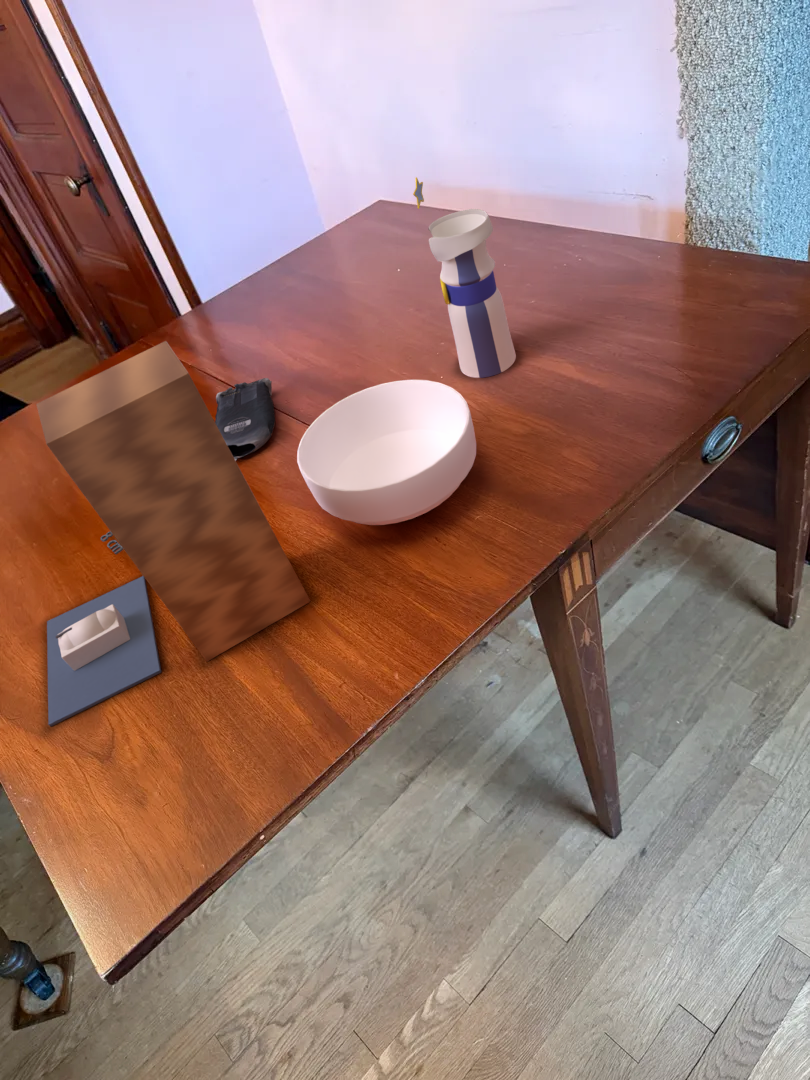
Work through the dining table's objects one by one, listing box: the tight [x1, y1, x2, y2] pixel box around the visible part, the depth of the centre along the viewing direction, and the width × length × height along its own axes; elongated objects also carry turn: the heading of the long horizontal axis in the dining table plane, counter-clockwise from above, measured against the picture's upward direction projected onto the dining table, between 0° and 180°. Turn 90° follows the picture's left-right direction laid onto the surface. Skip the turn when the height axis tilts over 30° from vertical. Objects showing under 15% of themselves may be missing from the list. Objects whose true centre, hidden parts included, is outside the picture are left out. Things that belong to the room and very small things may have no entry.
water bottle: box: [412, 176, 517, 379], centre depth 93 cm, size 8×9×25 cm
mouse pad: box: [46, 575, 162, 727], centre depth 81 cm, size 16×12×1 cm
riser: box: [35, 340, 311, 662], centre depth 70 cm, size 12×8×28 cm, turn 118°
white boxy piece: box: [56, 604, 130, 671], centre depth 80 cm, size 7×4×4 cm, turn 118°
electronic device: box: [214, 377, 276, 462], centre depth 105 cm, size 9×6×15 cm
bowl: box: [296, 379, 477, 526], centre depth 84 cm, size 20×20×8 cm
